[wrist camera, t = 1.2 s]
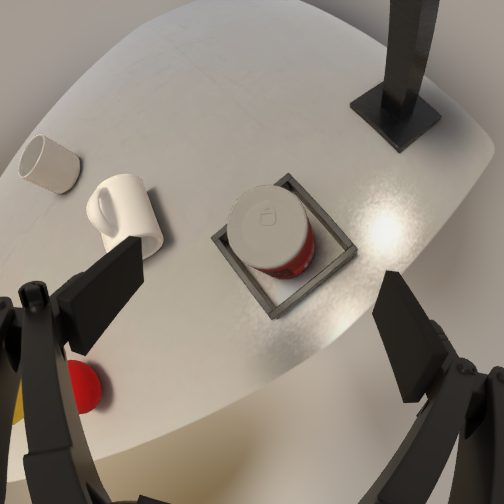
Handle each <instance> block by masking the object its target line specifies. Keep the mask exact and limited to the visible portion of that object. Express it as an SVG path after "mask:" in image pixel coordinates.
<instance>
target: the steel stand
mask: <svg viewBox="0 0 504 504" xmlns="http://www.w3.org/2000/svg"><path fill="white" fill-rule="evenodd" d="M439 1H440V0H390V18H389V34H388V47H387V57H386V67H385V76H384V81H383V82H382V83H380V84H378V85H377V86H375V87H374V88H372V89H371V90H369V91H368V92H366V93H365V94H363V95H362V96H360V97H359V98H357V99H356V100H354V101H353V102H351V103H350V108H352V109H353V110H354V111H355V112H356V113H357V114H358V115H360V116H361V117H362V118H363V119H364V120H365V121H366V122H367V123H369V124H370V125H371V126H372V127H373V128H374V129H375V130H376V131H377V132H378V133H379V134H380V135H381V136H382V137H383V138H385V139H386V140H387V141H388V142H389V143H390V144H391V145H392V146H393V147H394V148H395V149H396V150H397V151H398V152H400V151H402V150H403V149H404V148H405V147H407V146H408V145H409V144H410V143H412V142H413V141H414V140H415V139H417V138H418V137H419V136H420V135H422V134H423V133H424V132H425V131H427V130H428V129H429V128H430V127H432V126H433V125H434V124H435V123H436V122H438V121H439V120H440V118H441V115H440V114H439V113H438V112H436V111H435V110H434V109H433V108H432V107H431V106H430V105H429V104H428V103H427V102H425V101H424V100H423V99H422V98H421V97H420V96H419V95H418V94H419V90H420V87H421V83H422V79H423V76H424V72H425V68H426V64H427V60H428V55H429V51H430V47H431V42H432V38H433V33H434V28H435V23H436V18H437V12H438V7H439Z"/></svg>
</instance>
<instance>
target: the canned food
mask: <svg viewBox="0 0 504 504" xmlns="http://www.w3.org/2000/svg"><path fill="white" fill-rule="evenodd" d="M227 236H228V240H229V244H230V246H231V248H232V250H233V251H234V253H235V254H236V255H237V256H238V257H239V259H241V260H242V261H243V262H244V263H246V264H248V265H249V266H251V267H253V268H255V269H257V270H259V271H261V272H263V273H266V274H268V275H270V276H272V277H275V278H279V279H288V278H292V277H295V276H297V275H299V274H301V273H302V272H303V271H304V270H305V269H306V268H307V267H308V266H309V264H310V263H311V261H312V259H313V256H314V252H315V241H314V236H313V233H312V230H311V226H310V223H309V220H308V217H307V214H306V211H305V209H304V207H303V205H302V204H301V202H300V201H299V199H298V198H297V197H296V196H295V195H294V194H293V193H291V192H290V191H288V190H287V189H284V188H282V187H279V186H274V185H264V186H259V187H256V188H253V189H251V190H249V191H248V192H246V193H244V194H243V195H242V196H241V197H240V198H239V199H238V200H237V201H236V203H235V204H234V206H233V207H232V209H231V211H230V214H229V217H228V221H227Z"/></svg>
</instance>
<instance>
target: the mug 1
mask: <svg viewBox="0 0 504 504" xmlns="http://www.w3.org/2000/svg"><path fill="white" fill-rule="evenodd" d="M79 173H80V161H79V158H78V156H77V155H76V154H74V153H73V152H71V151H69V150H68V149H66V148H64V147H63V146H61V145H59V144H58V143H56V142H54V141H53V140H51V139H49V138H48V137H46V136H44V135H43V134H38V135H35V136H34V138H33V139H32V140H31V141H30V142H29V143H28V145H27V146H26V148H25V149H24V151H23V153H22V156H21V158H20V161H19V166H18V174H19V176H20V177H21V178H23V179H25V180H27V181H30V182H32V183H34V184H36V185H38V186H41V187H43V188H45V189H47V190H50V191H52V192H54V193H57V194H61V193H64V192H66V191H68V190H69V189H70V188H71V187H72V186H73V185H74V184H75V182H76V180H77V178H78V176H79Z"/></svg>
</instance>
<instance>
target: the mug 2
mask: <svg viewBox="0 0 504 504" xmlns="http://www.w3.org/2000/svg"><path fill="white" fill-rule="evenodd" d="M86 211H87V215H88V218H89V219H90V221H91V223H92V224H93V225H94V226H95V227H96V228H97V229H98V230H99V231H101V235H102V239H103V242H104V246H105V250H106V253H108V252H109V251H110V250H112V249H113V248H114V247H115V246H117V245H118V244H119V243H120V242H122V241H123V240H124V239H126V238H127V237H128V236H136V237H141V238H142V259H145V258H147V257H149V256H151V255H153V254H154V253H155V252H157V251H158V250H159V249H160V247H161V246H162V244H163V241H164V239H163V235H162V233H161V230H160V228H159V225H158V222H157V219H156V217H155V214H154V211H153V209H152V206H151V203H150V200H149V197H148V195H147V192H146V189H145V186H144V183H143V181H142V180H141V179H140V178H139V177H137V176H135V175H132V174H120V175H116V176H113V177H110V178H108V179H106V180H105V181H103V182H102V183H101V184H100V185H99V186H98V187H97V188H96V190H95V191H94V193H93V194H92V196H91V197H90V199H89V201H88V203H87V208H86Z"/></svg>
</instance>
